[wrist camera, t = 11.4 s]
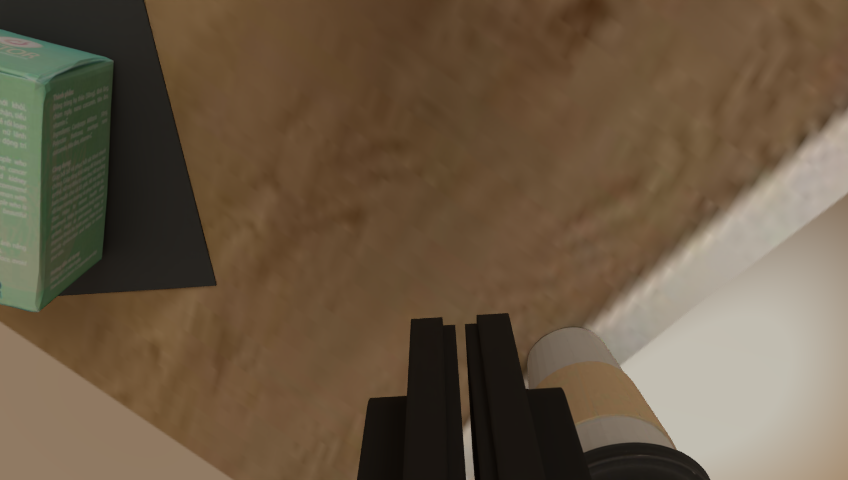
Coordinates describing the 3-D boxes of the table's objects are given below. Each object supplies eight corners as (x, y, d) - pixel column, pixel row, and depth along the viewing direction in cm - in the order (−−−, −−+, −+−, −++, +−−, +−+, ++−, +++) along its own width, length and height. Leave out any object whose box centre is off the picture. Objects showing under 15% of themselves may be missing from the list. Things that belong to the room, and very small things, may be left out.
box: (118, 52, 34) (39, 76, 27) (108, 256, 40) (41, 318, 33) (-16, 17, 34) (-130, 32, 27) (-7, 229, 39) (-99, 286, 32)
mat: (-81, -20, 33) (-82, -20, 33) (133, -39, 32) (132, -39, 32) (45, 296, 41) (44, 296, 41) (216, 284, 41) (216, 285, 41)
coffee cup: (478, 380, 44) (501, 569, 30) (551, 282, 40) (614, 445, 27) (584, 429, 46) (650, 627, 32) (663, 339, 42) (773, 519, 29)
